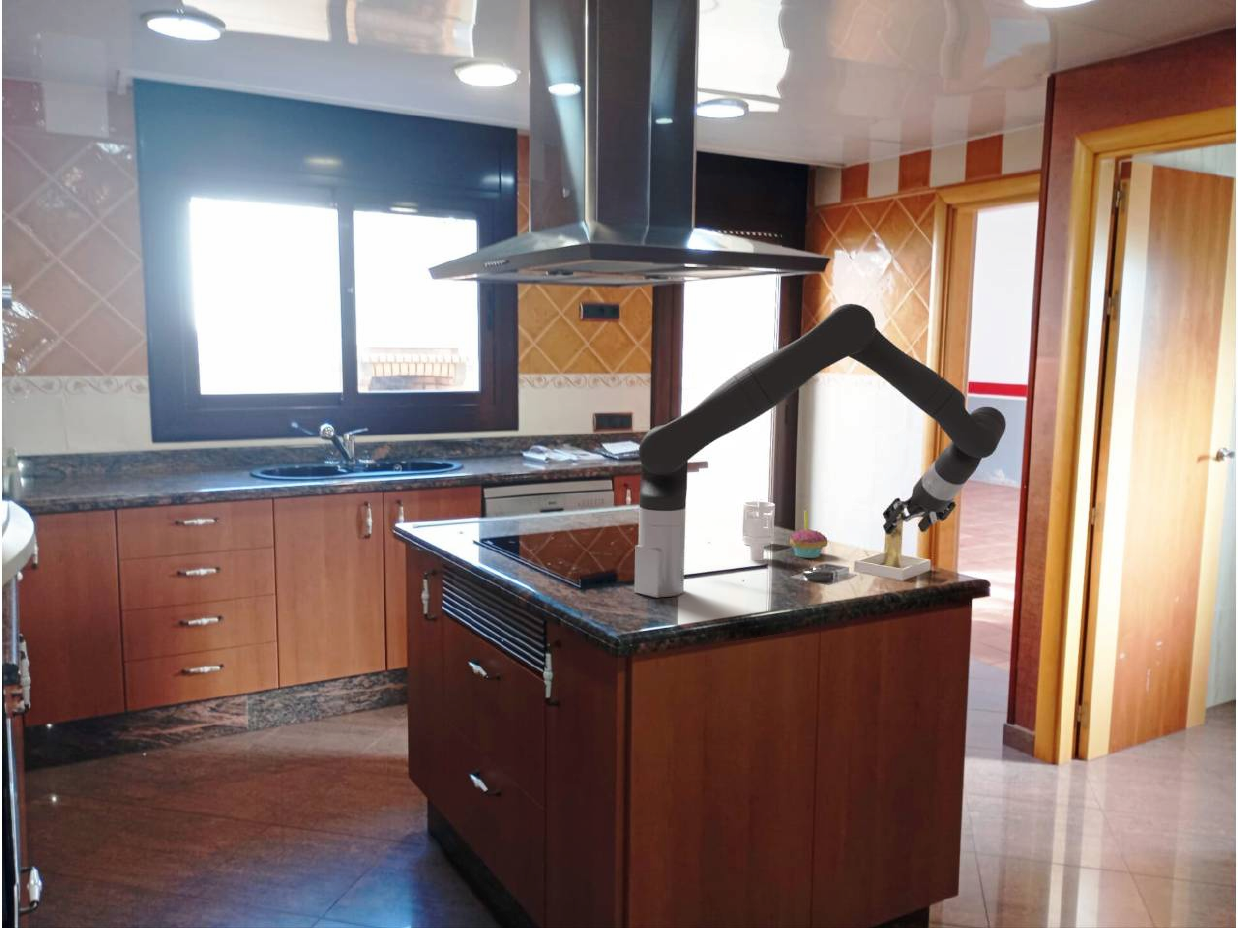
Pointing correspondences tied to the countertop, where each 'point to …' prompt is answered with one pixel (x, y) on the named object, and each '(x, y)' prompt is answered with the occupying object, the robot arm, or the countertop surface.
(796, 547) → the cupcake
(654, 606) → the countertop surface
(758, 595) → the countertop surface
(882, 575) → the tray
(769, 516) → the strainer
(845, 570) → the tensioner plate
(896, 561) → the gold mushroom peg
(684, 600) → the countertop surface
